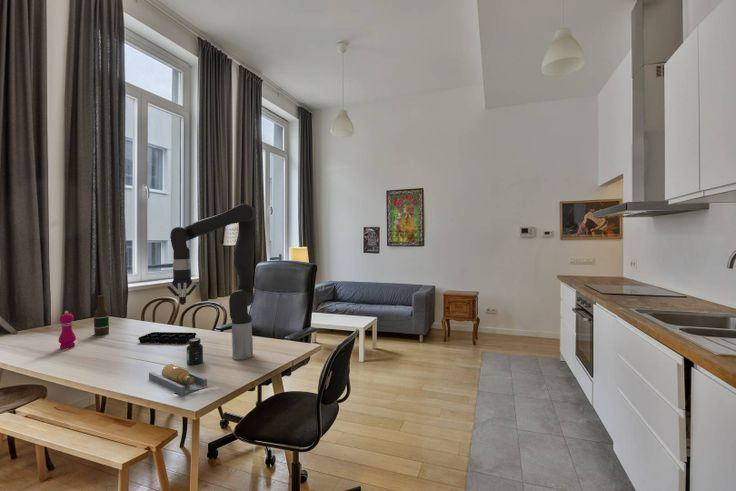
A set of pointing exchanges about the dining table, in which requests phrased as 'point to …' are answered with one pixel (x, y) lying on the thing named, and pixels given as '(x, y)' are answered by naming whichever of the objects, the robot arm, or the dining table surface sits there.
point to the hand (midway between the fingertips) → (182, 304)
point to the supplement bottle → (194, 352)
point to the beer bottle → (101, 318)
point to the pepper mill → (67, 331)
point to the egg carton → (167, 337)
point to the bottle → (177, 374)
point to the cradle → (180, 388)
